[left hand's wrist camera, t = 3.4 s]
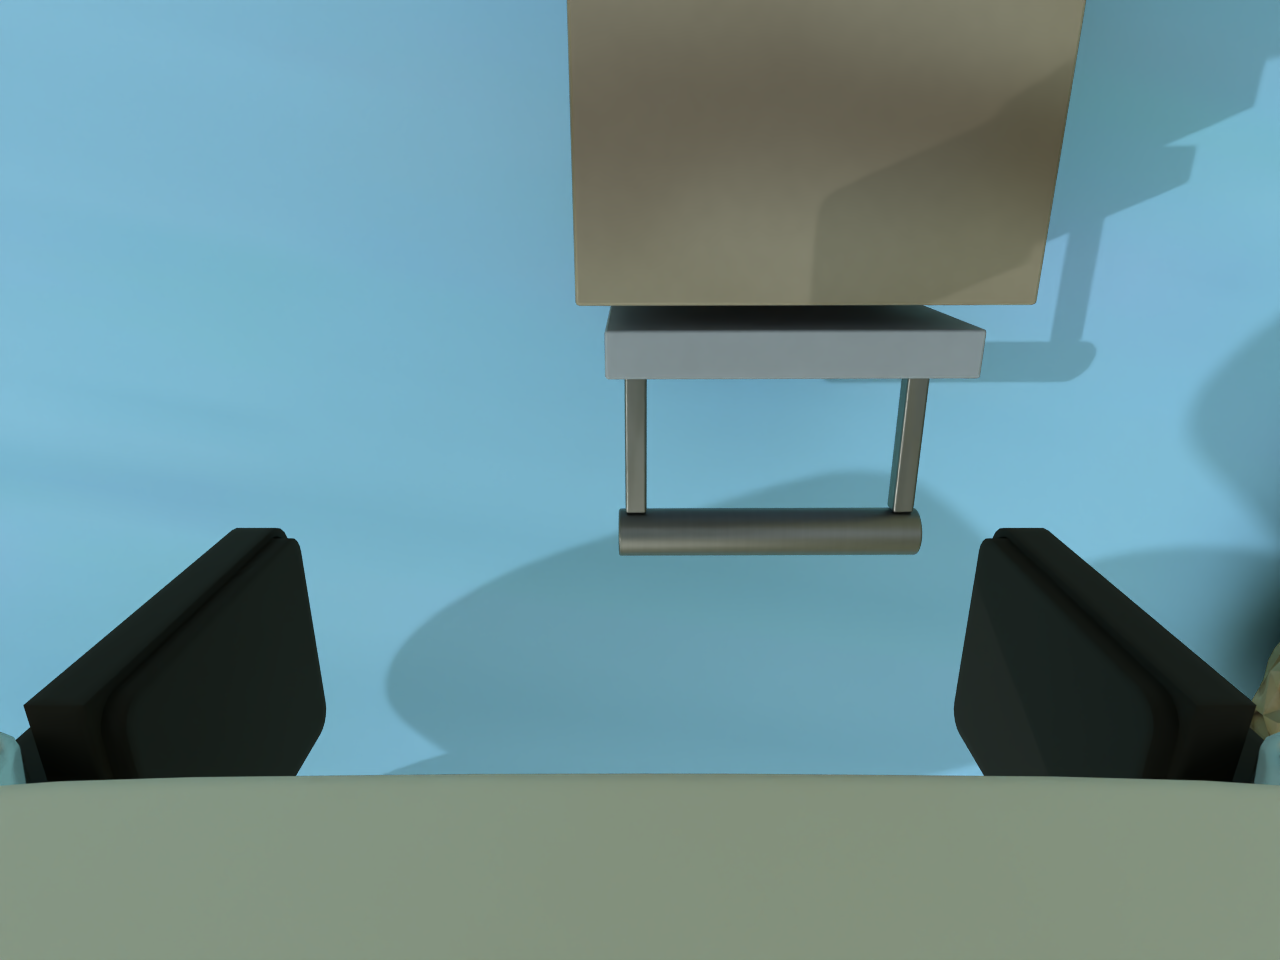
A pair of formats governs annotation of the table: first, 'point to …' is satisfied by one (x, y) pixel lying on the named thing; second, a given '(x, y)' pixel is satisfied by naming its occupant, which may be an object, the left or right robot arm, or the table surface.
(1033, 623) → the left robot arm
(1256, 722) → the teapot
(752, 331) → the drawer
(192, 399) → the table surface
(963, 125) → the cabinet
